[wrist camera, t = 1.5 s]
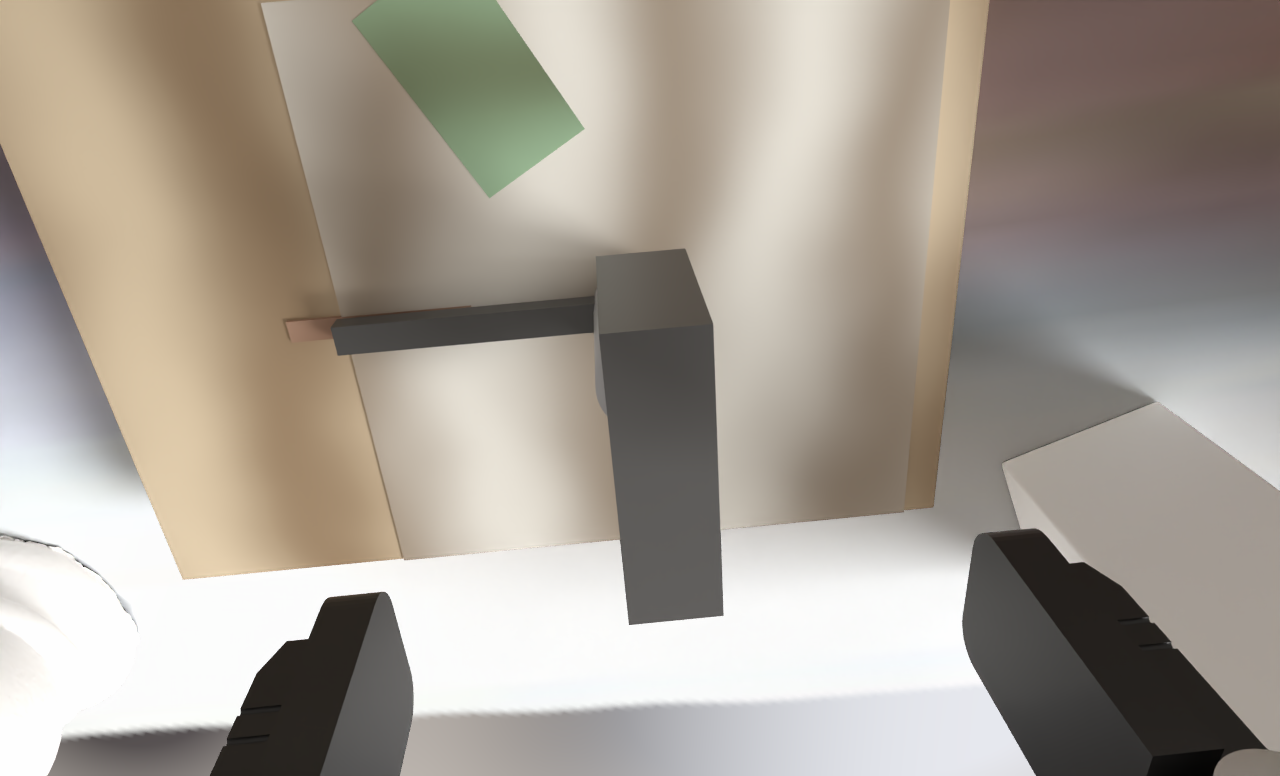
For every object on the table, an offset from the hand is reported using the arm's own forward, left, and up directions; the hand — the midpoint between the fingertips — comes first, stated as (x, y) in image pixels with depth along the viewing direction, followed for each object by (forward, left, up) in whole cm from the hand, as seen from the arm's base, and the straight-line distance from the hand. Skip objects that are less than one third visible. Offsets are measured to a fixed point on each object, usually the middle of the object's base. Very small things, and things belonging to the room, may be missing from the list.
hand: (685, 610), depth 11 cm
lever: (+3, 0, -12) cm, 13 cm away
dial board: (+3, -1, -17) cm, 17 cm away
